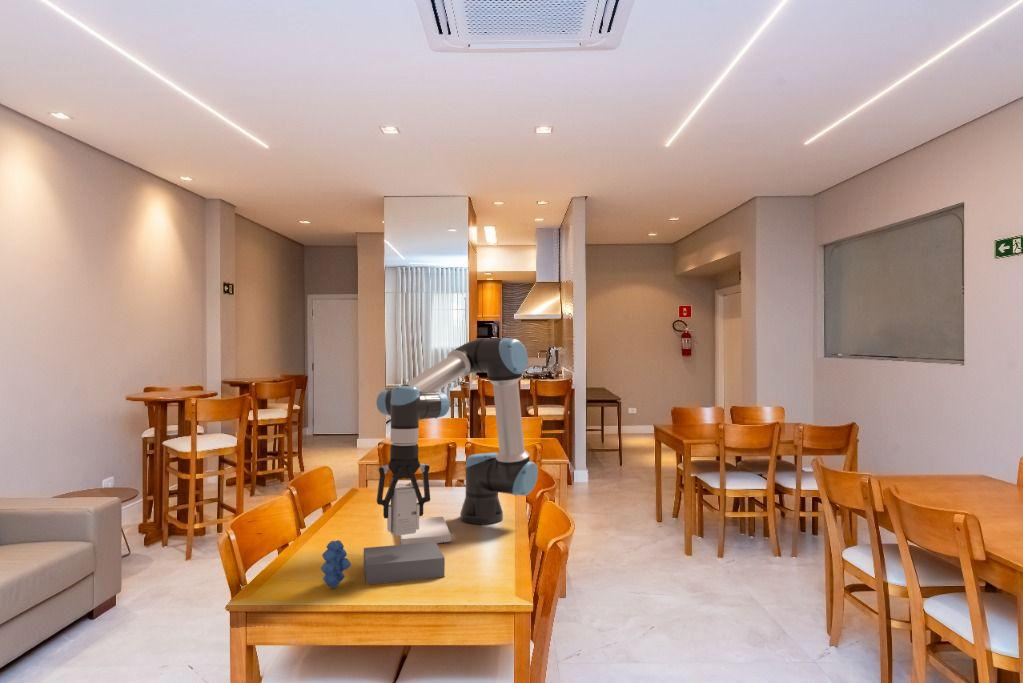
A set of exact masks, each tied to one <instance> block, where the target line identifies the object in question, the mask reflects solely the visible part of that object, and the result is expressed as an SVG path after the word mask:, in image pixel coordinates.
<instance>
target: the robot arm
mask: <svg viewBox="0 0 1023 683" xmlns="http://www.w3.org/2000/svg"><path fill="white" fill-rule="evenodd" d="M528 356H529V355H528V352H527V349H526V347H525V346H524V344H523V343H522V342H521V341H520V340H519V339H517V338H508V337H497V338H496V337H494V338H493V337H492V338H477V339H474V340H470V341H468V342H466V343H464V344H462V345H460V346H459V347H456V348H454V349H453V350H452V351H450V352H449V353H448V355H447V357H445V358H444V359H442V360H441V361H439V362H438V363H436V364H434V365H432V366H431V367H430V368H428V369H427V370H424V371H423V372H421V373H420V374H418V375H417V376H414V377H413V378H412V379H410V380H409V381H407V382H404V383H403V384H402V385H399V386H398V385H397V386H394V387H393V388H392V389H391V388H389V389H384V390H382V391H380V392H379V394H378V395H377V398H376V402H375V403H376V404H375V405H376V408H377V410H378V412H379V413H380V414H382V415H385V416H386V415H387V416H390V441H389V442H390V443H391V444H390V446H389V447H390V448H389V449H390V450H389V462H388V463H387V464H385V465H379V466H378V472H379V476H378V478H379V480H378V485H377V495H376V503H377V504H378V505H381V506H383V507H382V508H383V509H382V510H383V513H382V514H383V518H384V519H387V520H386V522H387V523H386V526H387V527H386V530H387V532H388V533H389V532H390V531H391V497H392V495H393V492H394V489H395V487H397V484H398V481H399V480H402V479H406V480H407V479H409V480H410V481H411V486H413V487H414V489H415V492H416V495H417V510H416V530H418V529H419V518H420V517H423V516H424V505H425V503H428V502H430V501H431V492H430V481H429V480H430V479H429V472H430V469H431V468H430V465H429V464H428V463H421V462H420V461H419V444H418V443H419V439H420V438H419V432H420V431H419V425H420V420H428V419H438V418H442V417H444V416H446V415H447V414H448V412H449V410H450V400H449V397H448V396H447V394H445V393H444V392H442V391H440V390H442V389H443V388H445V387H446V386H447V385H449V384H450V383H452V382H453V381H455V380H456V379H458V378H463V377H466V376H467V375H469V374H473V373H487V381H488V382H490V383H491V384H492V386H493V387H492V388H493V389H492V390H493V397H494V399H493V401H494V408H495V420H496V430H497V439H498V448H499V452H483V453H481V452H480V453H474V454H471V455H468V456H467V457H466V461H465V467H464V468H465V497H464V500H463V504H462V507H461V510H460V517H459V519H460V521H461V522H463V521H464V523H466V522H467V524H471V523H473V524H472V525H488V524H489V523H492V524H496V523H499V522H501V521H503V519H504V513H503V512H504V511H503V508H502V505H501V502H500V499H499V493H502V494H505V495H507V494H508V495H513V496H516V497H517V496H522V497H523V496H524V497H525V496H527V495H529V494H531V493H532V491H533V490H534V488H535V486H536V484H537V480H538V475H539V469H538V466H537V464H536V463H535V462H534V461H530V453H529V452H528V451H527V450H526V449H525V442H524V441H525V440H524V432H523V421H522V410H521V399H520V388H519V387H520V386H519V385H520V384H519V381H520V380H521V379H522V378H523V373H524V372H525V371H526V370H527V367H528V366H527V365H528V362H529V360H528V359H529V358H528ZM419 469H420V471H421V473H422V483H423V484H422V485H423V486H422V487H423V494H424V496H422V492H421V490H420V488H419V484H418V482H417V478H416V475H415V474H416V472H417V471H418V470H419ZM389 470H390V472H391V473H392V477H391V481H390V483H389V486H388V489H387V491H386V495H385V496H383V495H384V489H385V488H384V487H385V481H386V480H385V479H386V474H387V473H388V471H389ZM383 497H384V499H383ZM495 522H496V523H495ZM489 525H490V524H489ZM390 533H391V532H390Z"/></svg>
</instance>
